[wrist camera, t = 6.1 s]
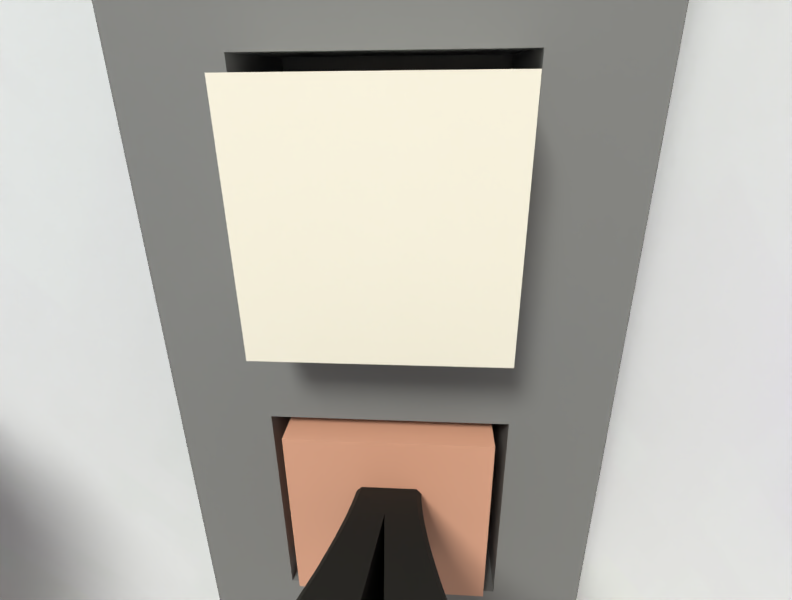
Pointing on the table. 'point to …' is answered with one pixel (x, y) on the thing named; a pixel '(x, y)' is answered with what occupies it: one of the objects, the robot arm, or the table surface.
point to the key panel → (403, 384)
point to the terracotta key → (394, 486)
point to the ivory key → (377, 211)
